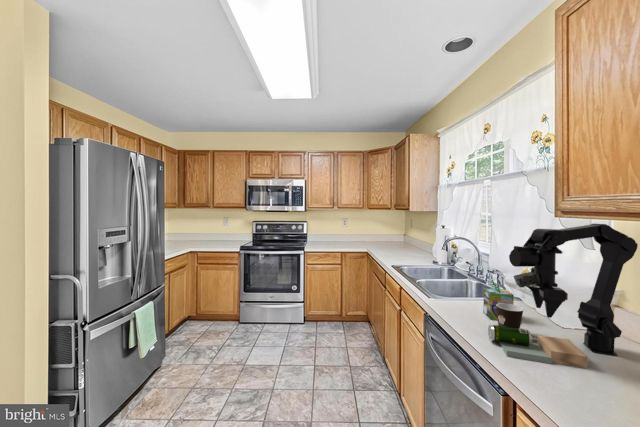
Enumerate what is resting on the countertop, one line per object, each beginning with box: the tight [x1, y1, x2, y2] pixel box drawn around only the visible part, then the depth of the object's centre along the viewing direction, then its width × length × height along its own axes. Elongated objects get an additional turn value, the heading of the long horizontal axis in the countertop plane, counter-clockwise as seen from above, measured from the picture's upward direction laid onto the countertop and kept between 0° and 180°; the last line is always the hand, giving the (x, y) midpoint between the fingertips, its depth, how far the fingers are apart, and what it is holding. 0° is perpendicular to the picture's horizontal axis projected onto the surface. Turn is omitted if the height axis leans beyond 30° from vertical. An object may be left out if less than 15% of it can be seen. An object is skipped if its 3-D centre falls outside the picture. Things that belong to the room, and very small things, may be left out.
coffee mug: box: [492, 303, 524, 329], centre depth 112 cm, size 12×9×10 cm
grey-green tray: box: [498, 337, 553, 364], centre depth 98 cm, size 12×14×2 cm
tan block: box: [536, 334, 588, 369], centre depth 94 cm, size 9×12×4 cm
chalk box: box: [482, 281, 515, 321], centre depth 127 cm, size 9×9×15 cm
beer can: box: [487, 324, 533, 346], centre depth 101 cm, size 5×5×12 cm
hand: (543, 312), depth 98 cm, fingers open, 9 cm apart
